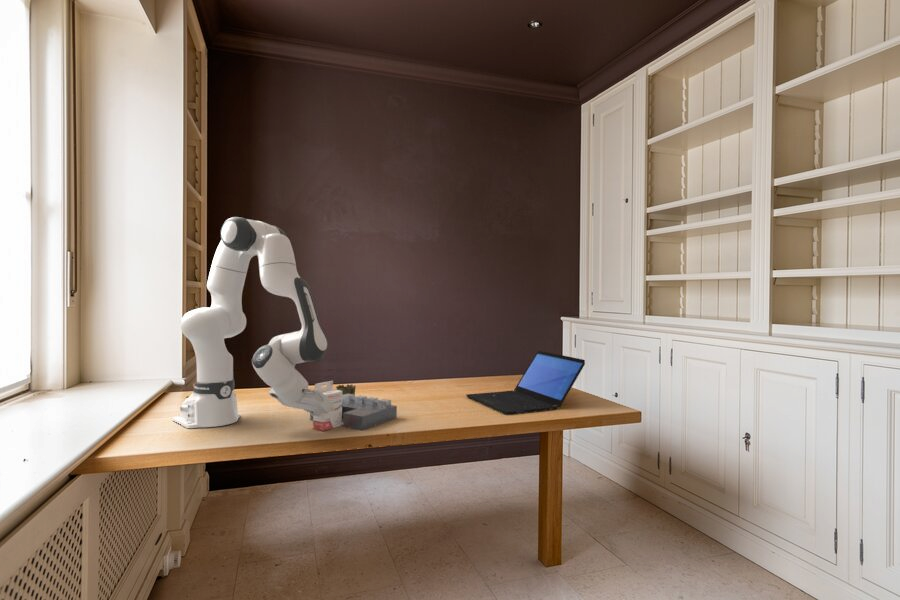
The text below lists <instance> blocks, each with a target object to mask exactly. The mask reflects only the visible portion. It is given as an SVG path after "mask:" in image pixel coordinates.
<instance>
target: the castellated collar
mask: <svg viewBox="0 0 900 600" xmlns="http://www.w3.org/2000/svg"><path fill="white" fill-rule="evenodd" d="M397 409H398V407H397V405H393V404H392V399H386V398H382V399H379V397H373V396H370V397H369V396H367V395H361V394H360V395H356V394H344V395H342V427H344V426H345V428H349V427H350V428H349V429H355V430H358V431H359V430H360V431H364V430H367V429H368V430H369V429H370V427H371V428H373V427H376V426H379V425H382V424H385V423H388V422H390V421H389V420H391V421H393V420H392V419H394V420H396V419H395V418H397V417H398V416H397V414H398V412H397ZM309 420H310V421H313V415H311V414H310V413H309ZM387 421H388V422H387ZM384 422H385V423H384ZM381 423H382V424H381ZM378 424H379V425H378ZM375 425H376V426H375Z"/></svg>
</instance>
